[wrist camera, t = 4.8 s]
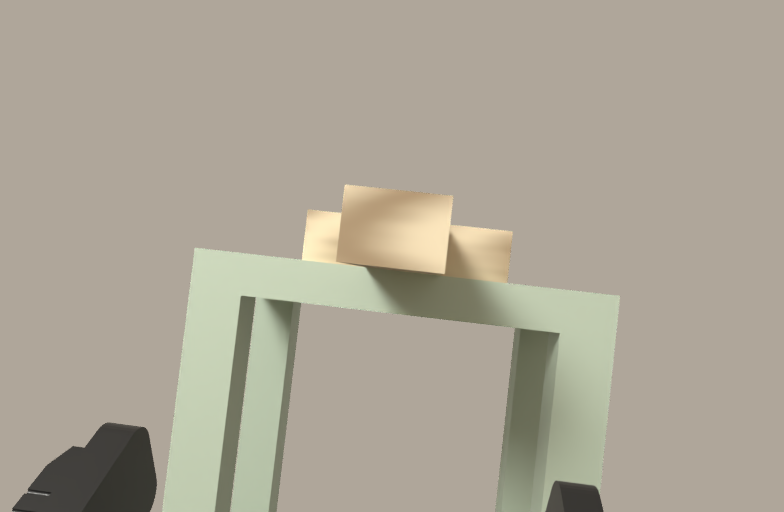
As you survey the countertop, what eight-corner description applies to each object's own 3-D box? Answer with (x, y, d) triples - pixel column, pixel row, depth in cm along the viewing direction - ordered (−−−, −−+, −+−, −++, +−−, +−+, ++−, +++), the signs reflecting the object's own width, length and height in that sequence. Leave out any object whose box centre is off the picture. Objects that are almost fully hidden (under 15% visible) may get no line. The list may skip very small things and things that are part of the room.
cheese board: (237, 250, 20) (246, 174, 20) (334, 265, 40) (338, 227, 40) (548, 285, 19) (556, 206, 19) (487, 282, 39) (491, 243, 39)
